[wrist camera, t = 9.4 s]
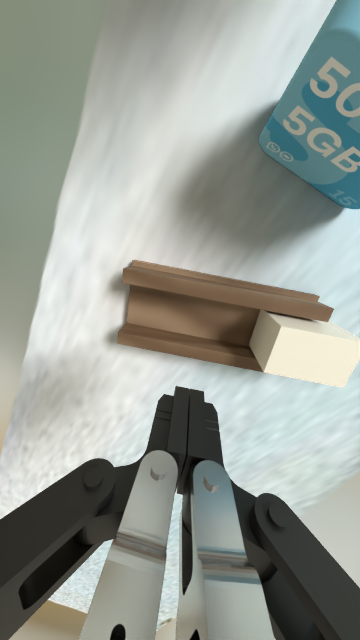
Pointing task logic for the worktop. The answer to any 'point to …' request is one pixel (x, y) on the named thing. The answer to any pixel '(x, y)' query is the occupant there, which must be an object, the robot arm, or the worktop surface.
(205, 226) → the worktop surface
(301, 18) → the worktop surface
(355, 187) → the blue labeled box
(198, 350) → the walnut chute
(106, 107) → the worktop surface
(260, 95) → the worktop surface
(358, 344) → the sand block
